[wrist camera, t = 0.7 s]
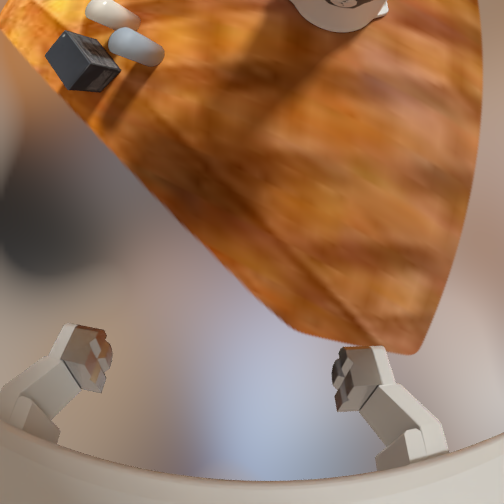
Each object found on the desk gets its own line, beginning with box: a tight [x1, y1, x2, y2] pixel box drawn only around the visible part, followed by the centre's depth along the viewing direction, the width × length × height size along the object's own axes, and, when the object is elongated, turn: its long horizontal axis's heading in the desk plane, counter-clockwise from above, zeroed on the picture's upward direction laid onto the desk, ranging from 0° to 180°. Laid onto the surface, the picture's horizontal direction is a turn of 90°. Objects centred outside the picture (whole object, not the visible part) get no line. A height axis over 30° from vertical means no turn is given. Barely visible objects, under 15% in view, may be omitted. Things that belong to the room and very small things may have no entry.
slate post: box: [108, 27, 164, 67], centre depth 39 cm, size 4×4×12 cm
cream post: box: [85, 0, 140, 31], centre depth 36 cm, size 4×4×12 cm
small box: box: [45, 30, 121, 92], centre depth 40 cm, size 11×6×10 cm, turn 37°
